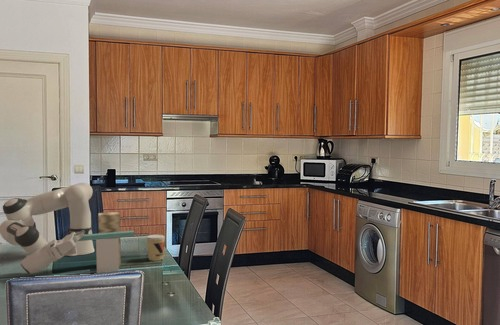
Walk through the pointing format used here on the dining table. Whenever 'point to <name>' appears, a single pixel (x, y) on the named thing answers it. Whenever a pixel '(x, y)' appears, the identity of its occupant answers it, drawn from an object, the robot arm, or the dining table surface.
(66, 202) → the robot arm
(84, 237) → the teal board
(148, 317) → the dining table surface
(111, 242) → the grey slot box
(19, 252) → the dining table surface
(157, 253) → the coffee cup
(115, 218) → the birch stand
